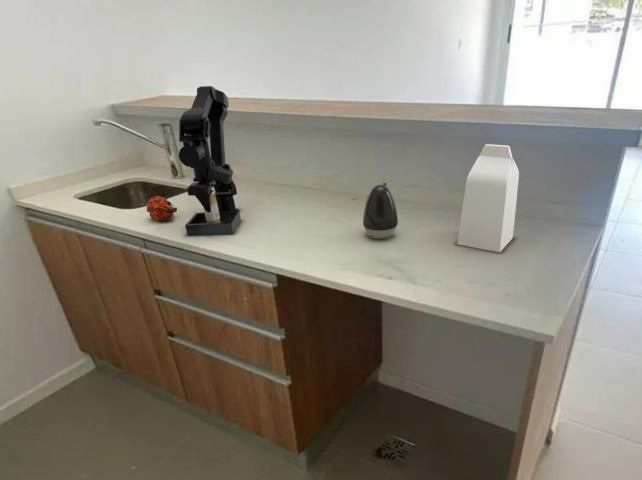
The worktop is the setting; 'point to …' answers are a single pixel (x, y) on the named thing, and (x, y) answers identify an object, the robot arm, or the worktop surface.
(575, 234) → the worktop surface
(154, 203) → the dragon fruit
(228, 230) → the rectangular frame
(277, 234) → the worktop surface
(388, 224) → the black egg-shaped piece
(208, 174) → the robot arm
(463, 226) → the milk
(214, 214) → the sprinkles bottle
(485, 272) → the worktop surface
